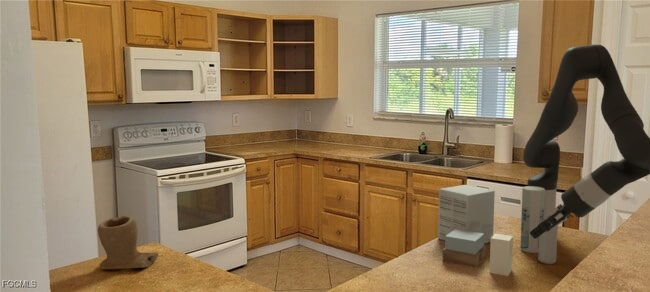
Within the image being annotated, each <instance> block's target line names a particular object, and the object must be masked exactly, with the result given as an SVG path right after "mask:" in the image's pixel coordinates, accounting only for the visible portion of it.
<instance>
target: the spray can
mask: <svg viewBox="0 0 650 292" xmlns="http://www.w3.org/2000/svg"><path fill="white" fill-rule="evenodd" d="M521 193H522V194H521V217H520V218H521V223H520V224H521V225H520V226H521V227H520V246H519V247H520V250H521V251H522V252H525V253H529V254H539V237H537V238H536V239H534V238H533V237H532V236H531V234H530V231H532V230H533V229H534V228H536V227H537V226H538V224H539V223H541V221H543V215H544V197H545V189H544V188H541V187H534V186H527V185H526V186H522V190H521Z"/></svg>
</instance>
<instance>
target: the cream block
mask: <svg viewBox="0 0 650 292" xmlns="http://www.w3.org/2000/svg"><path fill="white" fill-rule="evenodd" d="M513 247H514V236H513V235H507V234H501V233H493V236H492V237H491V242H490V248H489V249H490V250H489V252H490V253H489V274H494V275H495V274H496V275H499V276H500V275H501V276H505V277H506V276H507V277H509V275H510V274H511V273H512V271H513V256H514V255H513V250H514V248H513Z"/></svg>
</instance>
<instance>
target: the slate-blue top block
mask: <svg viewBox="0 0 650 292" xmlns="http://www.w3.org/2000/svg"><path fill="white" fill-rule="evenodd" d="M484 246H485V243H484V233H478V232H472V231H466V230H459V229H454V230H453V231H452V232H450V233H449V234H448V235H446V236H445V240H444V248H445V249H447V250H452V251H458V252H464V253H469V254H476V253H477V252H478V251H479V250H480V249H481V248H483V247H484Z"/></svg>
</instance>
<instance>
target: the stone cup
mask: <svg viewBox="0 0 650 292" xmlns="http://www.w3.org/2000/svg"><path fill="white" fill-rule="evenodd" d="M97 235H98V239H99V240H100V241H99V242H100V244H101V246H102V247H103V249H104V251H105V254H106V258H104V259H103V260H102V261H101V262H100V263H99V268H100V269H102V270H128V269H129V270H130V269H140V268H148V267H150V266H152V265H153V264H154V263H155V262H156V261H157V260H158V258H159V253H158V252H140V251H138V248H137V246H138V245H137V243H138V236H139V235H138V224H137V221H136V220H135V219H134V218H133V216H130V215H121V216H120V217H110V218H108V219H106V220H104V221H102V222H101V223H100V224H99V225H98V227H97Z"/></svg>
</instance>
